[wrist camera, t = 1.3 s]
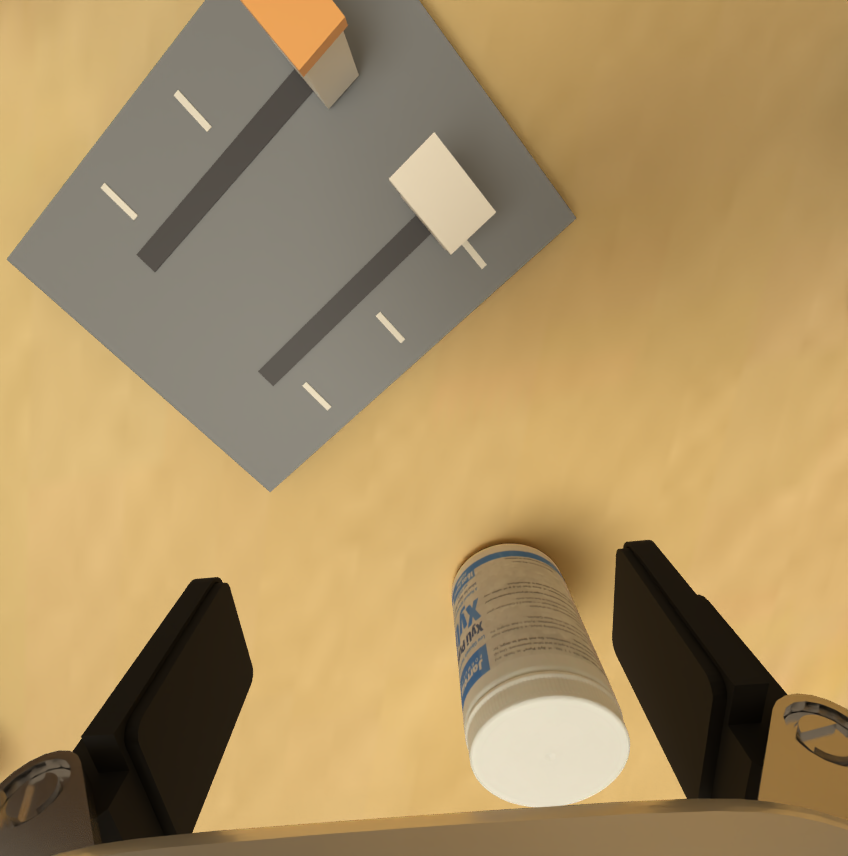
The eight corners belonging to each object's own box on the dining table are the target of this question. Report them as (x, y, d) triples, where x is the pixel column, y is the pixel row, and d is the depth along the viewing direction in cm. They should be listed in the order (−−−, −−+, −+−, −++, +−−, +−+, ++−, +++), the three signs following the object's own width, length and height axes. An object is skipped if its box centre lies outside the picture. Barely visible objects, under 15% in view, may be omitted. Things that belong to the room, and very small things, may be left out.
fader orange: (305, 1, 25) (265, -87, 19) (364, 75, 26) (345, 16, 20) (270, 44, 26) (219, -27, 19) (328, 115, 27) (299, 70, 20)
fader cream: (431, 160, 28) (434, 131, 21) (479, 222, 29) (496, 212, 22) (396, 196, 28) (388, 179, 22) (444, 255, 29) (451, 254, 23)
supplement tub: (441, 548, 39) (452, 706, 26) (555, 528, 39) (629, 679, 25) (462, 638, 43) (480, 822, 29) (567, 621, 42) (638, 800, 28)
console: (323, -114, 25) (314, -145, 23) (567, 220, 31) (576, 218, 29) (31, 259, 32) (5, 259, 30) (277, 480, 37) (269, 492, 35)
